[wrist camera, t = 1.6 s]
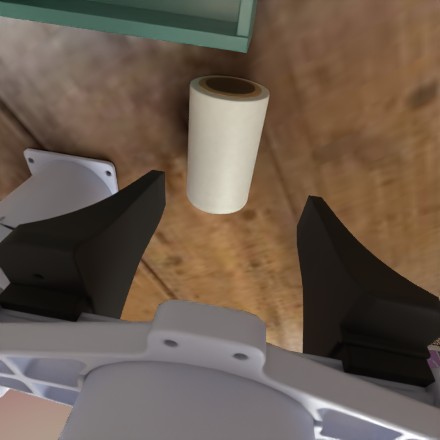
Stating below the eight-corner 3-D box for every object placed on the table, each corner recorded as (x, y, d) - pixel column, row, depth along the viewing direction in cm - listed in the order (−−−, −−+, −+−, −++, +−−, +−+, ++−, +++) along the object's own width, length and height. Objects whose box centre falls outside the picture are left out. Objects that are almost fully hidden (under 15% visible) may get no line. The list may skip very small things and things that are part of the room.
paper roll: (259, 200, 22) (213, 224, 19) (219, 173, 25) (174, 190, 22) (286, 92, 17) (228, 104, 14) (232, 70, 19) (173, 77, 17)
